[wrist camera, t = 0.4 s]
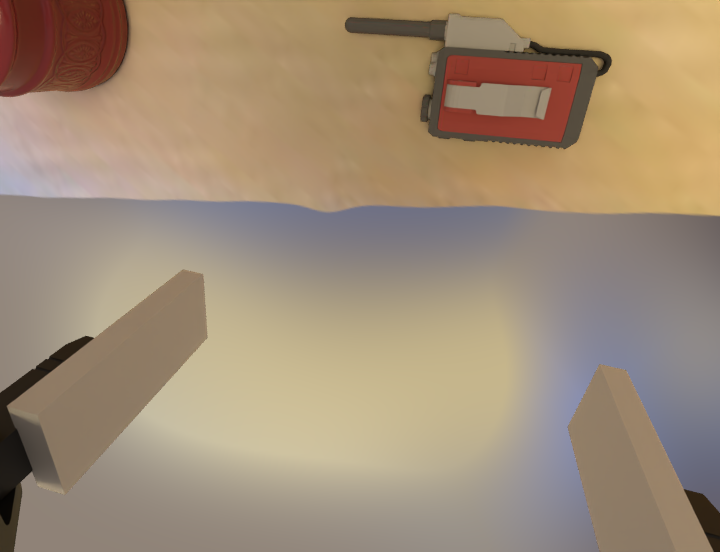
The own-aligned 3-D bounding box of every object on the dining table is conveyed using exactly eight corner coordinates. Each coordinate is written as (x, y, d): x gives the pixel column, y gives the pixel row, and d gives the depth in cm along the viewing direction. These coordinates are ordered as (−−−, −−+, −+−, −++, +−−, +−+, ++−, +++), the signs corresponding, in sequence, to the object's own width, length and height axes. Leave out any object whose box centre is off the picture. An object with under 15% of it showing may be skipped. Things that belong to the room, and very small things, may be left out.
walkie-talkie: (616, 24, 32) (349, 9, 35) (638, 20, 28) (335, 4, 31) (580, 147, 36) (344, 124, 39) (595, 158, 32) (331, 132, 35)
